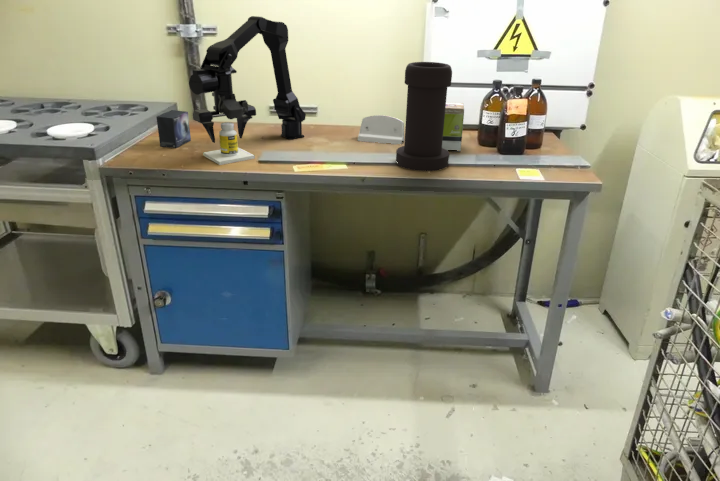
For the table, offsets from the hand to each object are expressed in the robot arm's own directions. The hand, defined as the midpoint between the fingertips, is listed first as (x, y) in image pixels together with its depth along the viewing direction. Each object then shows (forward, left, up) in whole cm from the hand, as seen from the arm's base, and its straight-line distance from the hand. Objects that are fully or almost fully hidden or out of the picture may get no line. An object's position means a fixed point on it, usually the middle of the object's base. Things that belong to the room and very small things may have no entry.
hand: (227, 140), depth 168 cm
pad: (0, 0, -5) cm, 5 cm away
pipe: (-47, +40, -6) cm, 62 cm away
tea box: (-65, +30, -6) cm, 72 cm away
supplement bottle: (0, 0, -5) cm, 5 cm away
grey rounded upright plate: (-54, +12, -6) cm, 56 cm away
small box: (+8, -24, -6) cm, 26 cm away
